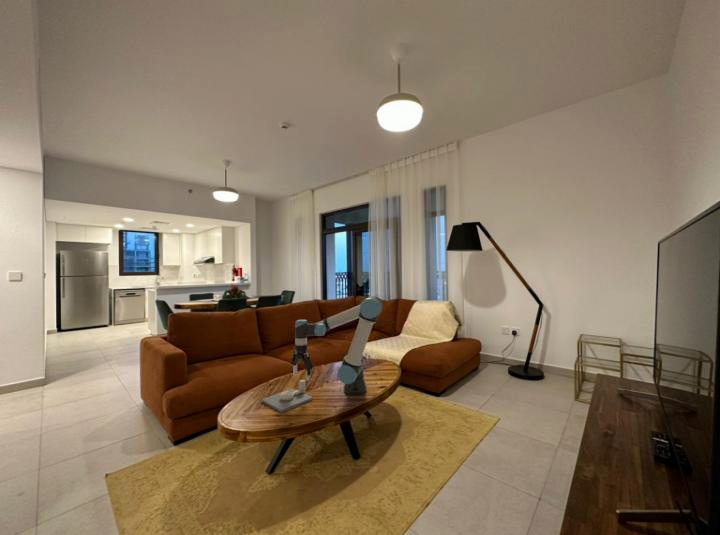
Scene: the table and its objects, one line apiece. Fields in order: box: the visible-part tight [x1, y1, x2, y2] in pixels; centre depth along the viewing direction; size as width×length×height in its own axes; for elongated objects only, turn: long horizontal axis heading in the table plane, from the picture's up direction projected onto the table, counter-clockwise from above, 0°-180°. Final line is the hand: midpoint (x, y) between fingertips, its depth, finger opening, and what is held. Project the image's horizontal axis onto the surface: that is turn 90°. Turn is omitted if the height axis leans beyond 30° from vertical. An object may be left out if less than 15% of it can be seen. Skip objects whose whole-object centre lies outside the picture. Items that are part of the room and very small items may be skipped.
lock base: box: [261, 388, 314, 414], centre depth 174 cm, size 22×22×2 cm
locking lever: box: [280, 379, 306, 401], centre depth 177 cm, size 17×8×7 cm, turn 137°
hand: (301, 377), depth 182 cm, fingers open, 13 cm apart
